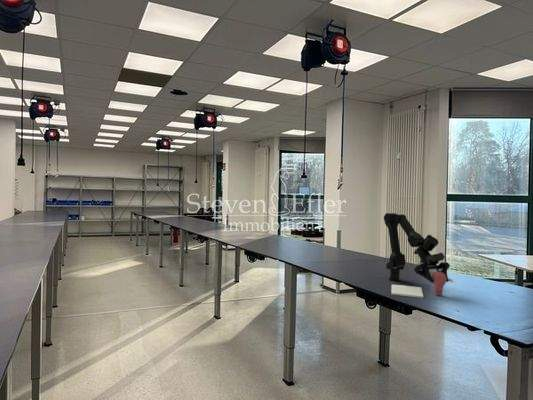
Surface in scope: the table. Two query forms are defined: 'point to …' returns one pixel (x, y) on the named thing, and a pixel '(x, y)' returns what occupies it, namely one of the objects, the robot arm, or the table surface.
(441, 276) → the light bulb
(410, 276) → the table surface
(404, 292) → the mat
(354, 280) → the table surface
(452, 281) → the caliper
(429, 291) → the table surface
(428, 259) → the robot arm
